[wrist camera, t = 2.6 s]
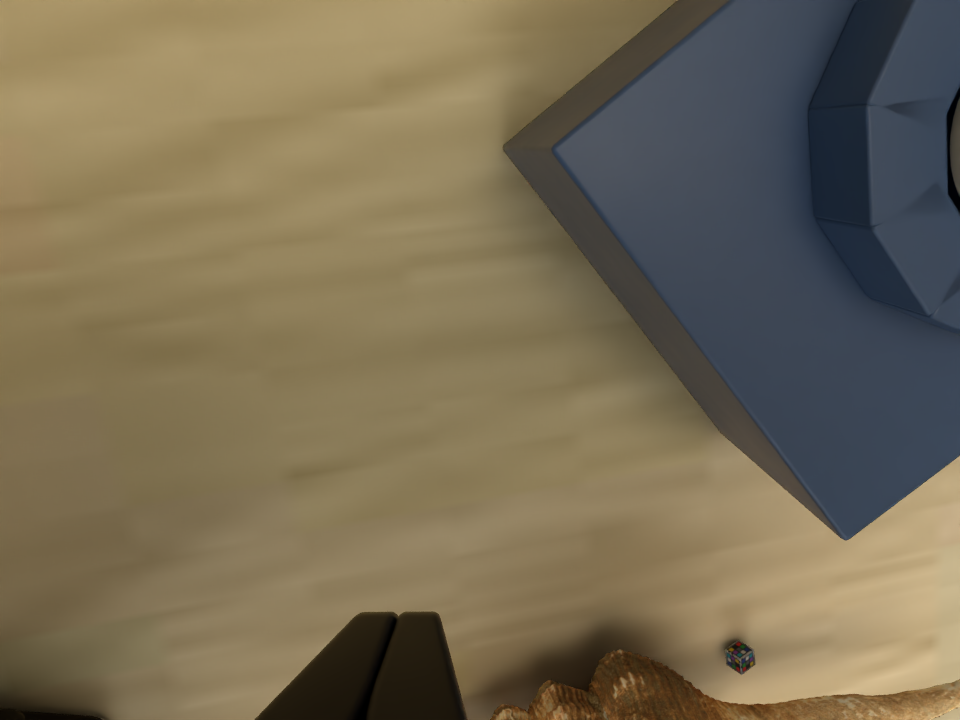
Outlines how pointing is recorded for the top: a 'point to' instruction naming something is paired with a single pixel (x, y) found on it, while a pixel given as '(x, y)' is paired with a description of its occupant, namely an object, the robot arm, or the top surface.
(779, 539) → the top surface
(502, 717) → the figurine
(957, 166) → the push button cap
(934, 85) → the push button box
